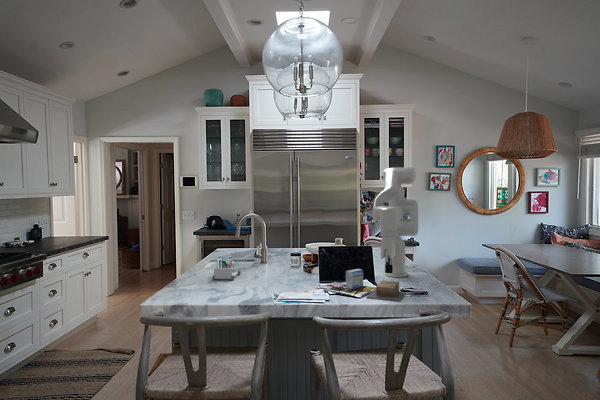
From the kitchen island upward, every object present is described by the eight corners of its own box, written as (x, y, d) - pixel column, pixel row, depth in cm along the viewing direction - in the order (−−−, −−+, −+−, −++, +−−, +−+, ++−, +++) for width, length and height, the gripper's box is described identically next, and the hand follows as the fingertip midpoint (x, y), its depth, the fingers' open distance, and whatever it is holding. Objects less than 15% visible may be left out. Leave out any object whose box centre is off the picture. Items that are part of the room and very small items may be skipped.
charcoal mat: (374, 290, 192) (374, 289, 192) (406, 293, 186) (406, 292, 186) (366, 298, 180) (366, 296, 180) (400, 301, 173) (400, 300, 173)
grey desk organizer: (222, 257, 235) (241, 257, 233) (222, 273, 235) (241, 274, 234) (211, 263, 217) (232, 263, 215) (212, 281, 217) (232, 281, 216)
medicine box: (351, 289, 194) (351, 272, 194) (345, 287, 198) (345, 270, 198) (363, 286, 199) (363, 269, 199) (357, 285, 203) (356, 268, 202)
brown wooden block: (382, 280, 192) (376, 286, 181) (398, 281, 189) (393, 287, 178) (382, 289, 192) (376, 295, 181) (399, 290, 189) (393, 297, 178)
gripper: (384, 231, 194) (384, 269, 195) (376, 235, 181) (377, 275, 182) (399, 232, 191) (400, 270, 192) (393, 236, 178) (393, 277, 178)
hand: (388, 272), depth 187 cm, fingers closed
